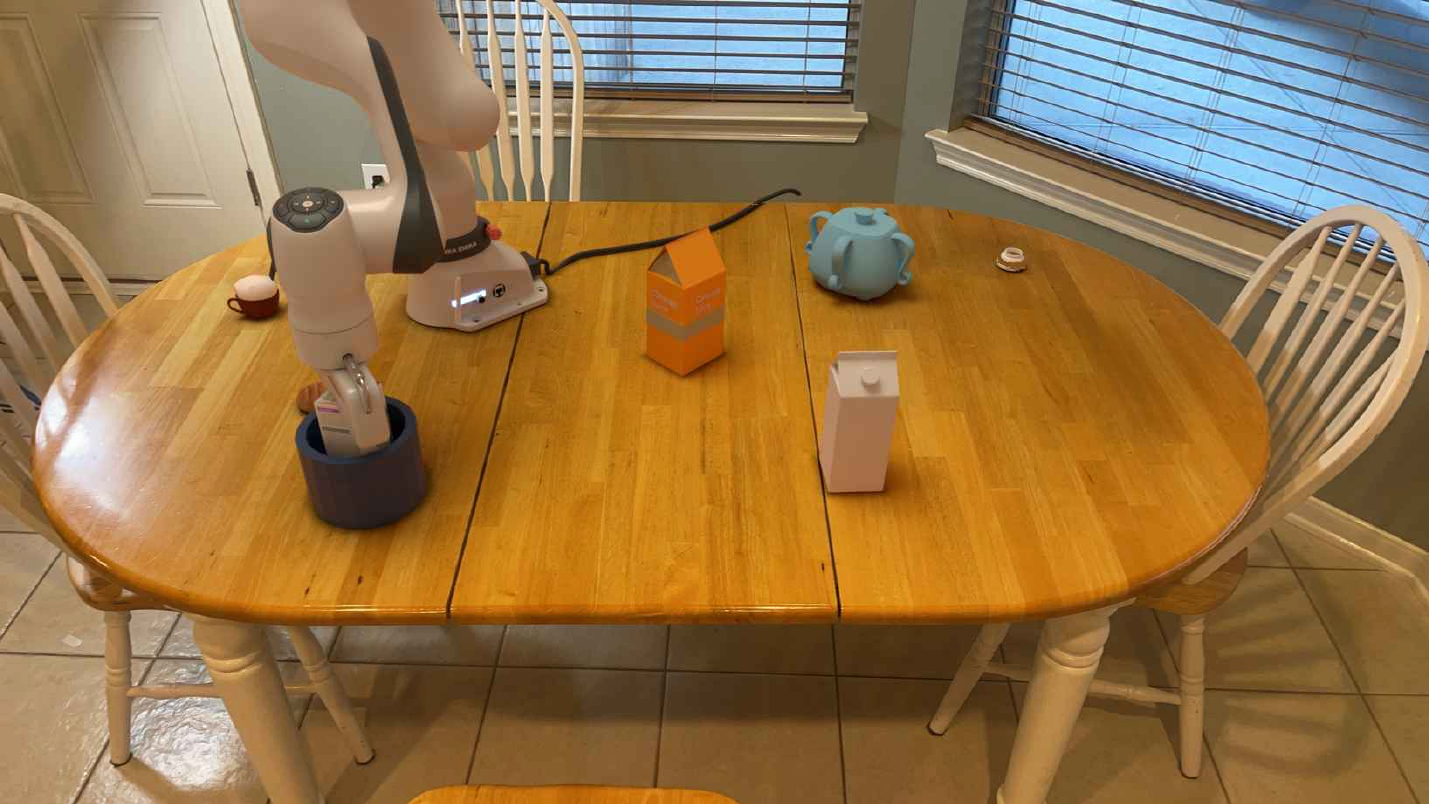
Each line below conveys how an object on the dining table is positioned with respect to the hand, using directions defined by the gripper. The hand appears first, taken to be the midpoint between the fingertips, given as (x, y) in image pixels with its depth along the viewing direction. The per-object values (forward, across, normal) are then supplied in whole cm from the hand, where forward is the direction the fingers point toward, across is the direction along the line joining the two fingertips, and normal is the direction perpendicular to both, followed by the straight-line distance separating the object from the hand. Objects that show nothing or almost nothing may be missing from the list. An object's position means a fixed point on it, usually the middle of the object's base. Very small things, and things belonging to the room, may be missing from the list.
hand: (357, 434), depth 121 cm
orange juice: (+9, +8, -50) cm, 51 cm away
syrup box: (+8, 0, 0) cm, 8 cm away
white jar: (+9, +4, -116) cm, 116 cm away
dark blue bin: (+9, 0, 0) cm, 9 cm away
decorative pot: (+9, +12, -87) cm, 88 cm away
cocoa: (+9, +50, +1) cm, 51 cm away
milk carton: (+9, -28, -54) cm, 61 cm away
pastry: (+9, +20, -2) cm, 22 cm away
